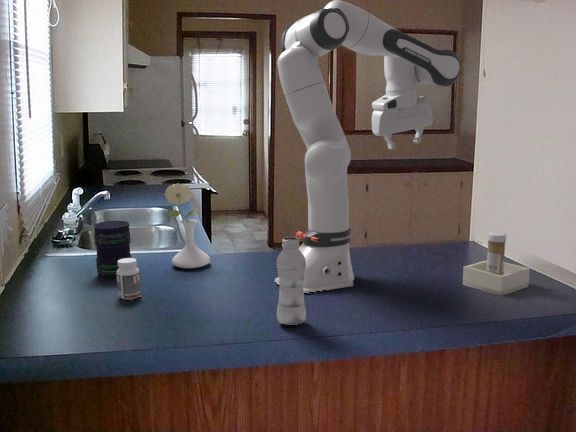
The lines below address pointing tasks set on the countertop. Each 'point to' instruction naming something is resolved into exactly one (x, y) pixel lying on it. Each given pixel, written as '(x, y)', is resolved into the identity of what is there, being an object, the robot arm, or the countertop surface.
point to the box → (496, 278)
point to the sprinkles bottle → (496, 252)
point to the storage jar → (111, 247)
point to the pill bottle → (128, 279)
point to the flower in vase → (190, 253)
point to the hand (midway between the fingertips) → (404, 145)
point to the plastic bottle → (291, 283)
